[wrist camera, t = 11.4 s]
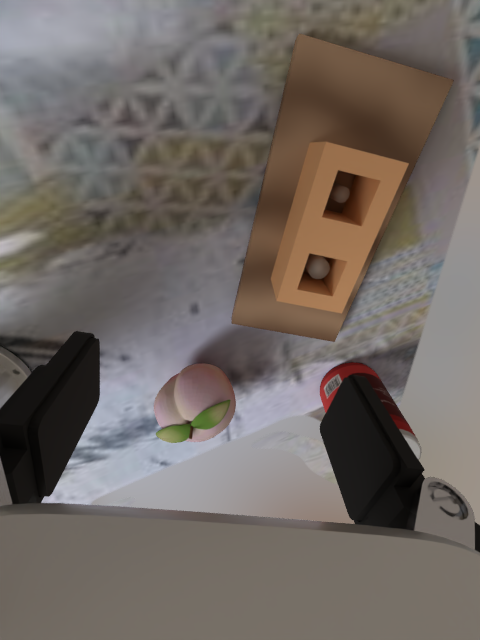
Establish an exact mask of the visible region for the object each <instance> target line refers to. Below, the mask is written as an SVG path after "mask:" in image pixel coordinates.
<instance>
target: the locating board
mask: <svg viewBox="0 0 480 640" xmlns="http://www.w3.org/2000/svg"><path fill="white" fill-rule="evenodd" d="M453 81H454V80H452V79H448V78H445V77H442V76H439V75H435V74H432V73H429V72H425V71H422V70H419V69H415V68H412V67H409V66H405V65H402V64H399V63H395V62H392V61H389V60H386V59H382V58H379V57H376V56H372V55H369V54H366V53H362V52H359V51H356V50H352V49H349V48H346V47H343V46H339V45H336V44H333V43H329V42H326V41H323V40H319V39H316V38H313V37H309V36H306V35H303V34H299V35H298V37H297V38H296V40H295V45H294V49H293V53H292V58H291V62H290V66H289V71H288V75H287V79H286V84H285V88H284V92H283V97H282V101H281V105H280V110H279V114H278V118H277V123H276V127H275V131H274V136H273V140H272V144H271V149H270V153H269V157H268V162H267V166H266V170H265V175H264V179H263V183H262V188H261V192H260V196H259V201H258V205H257V209H256V214H255V218H254V222H253V227H252V231H251V235H250V240H249V244H248V248H247V253H246V257H245V261H244V266H243V270H242V274H241V279H240V283H239V287H238V292H237V296H236V300H235V305H234V309H233V313H232V324H237V325H243V326H248V327H254V328H260V329H265V330H271V331H277V332H282V333H288V334H293V335H299V336H305V337H310V338H316V339H322V340H327V341H333V342H335V339H336V337H337V335H338V333H339V331H340V329H341V326H342V324H343V322H344V320H345V318H346V315H347V313H348V311H349V309H350V307H351V304H352V302H353V300H354V298H355V296H356V294H357V291H358V289H359V287H360V285H361V283H362V280H363V278H364V276H365V274H366V272H367V269H368V267H369V265H370V263H371V261H372V258H373V256H374V254H375V252H376V250H377V248H378V245H379V243H380V241H381V239H382V237H383V234H384V232H385V230H386V228H387V226H388V223H389V221H390V219H391V217H392V215H393V213H394V210H395V208H396V206H397V204H398V202H399V199H400V197H401V195H402V193H403V191H404V188H405V186H406V184H407V182H408V180H409V177H410V175H411V173H412V171H413V169H414V167H415V164H416V162H417V160H418V158H419V156H420V153H421V151H422V149H423V147H424V145H425V142H426V140H427V138H428V136H429V134H430V132H431V129H432V127H433V125H434V123H435V121H436V118H437V116H438V114H439V112H440V110H441V107H442V105H443V103H444V101H445V99H446V96H447V94H448V92H449V90H450V88H451V86H452V83H453ZM311 142H329V143H333V144H337V145H341V146H345V147H348V148H352V149H356V150H360V151H364V152H367V153H371V154H375V155H379V156H383V157H386V158H390V159H394V160H398V161H402V162H406V163H409V165H408V167H407V169H406V171H405V174H404V176H403V178H402V180H401V182H400V185H399V187H398V189H397V191H396V194H395V196H394V198H393V200H392V203H391V205H390V207H389V209H388V212H387V214H386V216H385V218H384V220H383V223H382V225H381V227H380V229H379V232H378V234H377V236H376V238H375V241H374V243H373V245H372V247H371V249H370V252H369V254H368V256H367V258H366V261H365V263H364V265H363V267H362V270H361V272H360V274H359V276H358V279H357V281H356V283H355V285H354V287H353V290H352V292H351V294H350V296H349V299H348V301H347V303H346V305H345V308H344V310H343V312H342V313H336V312H331V311H326V310H321V309H315V308H310V307H305V306H300V305H294V304H289V303H284V302H279V301H276V297H275V293H274V290H273V286H272V282H271V276H272V272H273V269H274V265H275V262H276V258H277V255H278V251H279V248H280V244H281V241H282V237H283V234H284V230H285V227H286V223H287V220H288V217H289V213H290V210H291V206H292V203H293V199H294V196H295V192H296V189H297V185H298V182H299V178H300V175H301V171H302V168H303V164H304V161H305V157H306V154H307V151H308V147H309V144H310V143H311ZM355 176H356V175H354V174H351V173H347V172H343V171H339V170H338V172H337V175H336V177H335V180H334V183H333V186H332V189H331V192H330V195H329V198H328V201H327V204H326V207H325V210H329V211H333V212H337V213H342V211H343V208H344V205H345V203H346V200H347V199H348V198H349V195H350V189H351V187H352V184H353V181H354V179H355ZM329 270H330V266H329V263H328V262H327V261H326V260H325V256H320V255H315V254H310V253H309V256H308V259H307V262H306V265H305V268H304V271H303V272H308V273H309V274H310V276H311V277H312V278H314V279H322V278H324V277H325V276H326V275H327V274H328V273H329Z"/></svg>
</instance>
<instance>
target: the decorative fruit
mask: <svg viewBox="0 0 480 640" xmlns="http://www.w3.org/2000/svg"><path fill="white" fill-rule="evenodd" d="M235 407H236V401H235V395H234V391H233V388H232V385H231V383H230V381H229V379H228V377H227V376H226V374H225V373H224V372H223V371H222V370H221V369H220V368H218V367H216V366H214V365H211V364H206V363H200V364H193V365H190V366H188V367H186V368H184V369H183V370H182V371H181V372H180V373H179V374H176V375H175V376H173V377H172V378H171V379H170V380H169V381H168V382H167V383H166V384H165V385H164V386H163V387H162V388H161V390H160V391H159V392H158V394H157V396H156V398H155V402H154V412H155V416H156V419H157V421H158V423H159V425H160V426H161V428H162V430H159V431H158V432H157V433H156V435H157V437H158V438H160V439H161V440H163V441H166V442H171V443H177V442H183V441H190V442H201V441H205V440H208V439H210V438H212V437H214V436H216V435H217V434H219V433H220V432H222V431H223V430H224V429H225V428H226V427H227V426H228V425H229V423H230V422H231V420H232V418H233V415H234V412H235Z"/></svg>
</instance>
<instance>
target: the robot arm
mask: <svg viewBox="0 0 480 640" xmlns="http://www.w3.org/2000/svg"><path fill="white" fill-rule="evenodd" d="M99 396H100V347H99V339H96V338H95V337H94V334H91V333H84V332H78V331H76V332H74V333H73V334H72V335H71V336H70V338H69V339H68V340H67V341H66V342H65V344H64V345H63V346H62V347H61V348H60V349H59V351H58V352H57V353H56V354H55V355H54V357H53V358H52V359H51V360H50V361H49V363H48V364H47V365H46V366H45V365H40V366H38V367H37V368H36V369H35V370H34V371H33V372H32V373H31V371H30V370H29V368H28V367H27V366H26V365H25V364H24V363H23V362H22V361H21V360H20V359H19V358H18V357H16V356H15V355H14V354H13V353H11V352H9V351H8V350H6V349H4V348H3V347H0V640H480V525H478V524H477V523H475V519H474V513H473V510H472V508H471V506H470V504H469V503H468V501H467V500H466V499H465V497H464V496H463V495H462V494H461V493H460V492H459V491H458V490H457V489H456V488H454V487H453V486H452V485H450V484H449V483H447V482H445V481H444V480H442V479H439V478H435V477H428V478H426V479H425V478H424V476H423V475H422V472H423V471H424V468H423V467H422V465H421V463H420V462H419V460H418V459H417V457H416V455H415V454H414V452H413V451H412V449H411V447H410V446H409V444H408V443H407V441H406V440H405V438H404V436H403V435H402V433H401V432H400V430H399V429H398V427H397V425H396V424H395V422H394V421H393V419H392V417H391V416H390V414H389V413H388V411H387V410H386V408H385V406H384V405H383V403H382V402H381V400H380V398H379V397H378V395H377V394H376V392H375V391H374V389H373V387H372V386H371V384H370V383H369V381H368V380H367V378H366V377H364V376H358V375H349V376H348V377H345V378H344V379H343V381H342V382H341V384H340V386H339V388H338V390H337V392H336V394H335V396H334V398H333V400H332V402H331V404H330V406H329V408H328V410H327V412H326V414H325V416H324V418H323V420H322V422H321V424H320V433H321V436H322V439H323V442H324V445H325V447H326V450H327V453H328V456H329V459H330V462H331V465H332V468H333V471H334V474H335V477H336V480H337V482H338V485H339V488H340V491H341V494H342V497H343V500H344V503H345V506H346V509H347V512H348V514H349V517H350V518H351V519H352V520H354V522H355V524H345V523H333V522H321V521H308V520H296V519H284V518H270V517H257V516H245V515H230V514H218V513H205V512H191V511H177V510H162V509H147V508H134V507H120V506H101V505H83V504H64V503H41V501H42V500H43V498H44V496H50V495H51V494H52V492H53V491H54V489H55V487H56V485H57V483H58V481H59V479H60V477H61V475H62V473H63V471H64V469H65V467H66V465H67V463H68V461H69V459H70V457H71V455H72V453H73V451H74V449H75V447H76V445H77V443H78V441H79V440H80V438H81V436H82V434H83V432H84V430H85V428H86V426H87V424H88V422H89V420H90V418H91V416H92V414H93V412H94V410H95V408H96V406H97V404H98V401H99Z"/></svg>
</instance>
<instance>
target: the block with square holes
mask: <svg viewBox="0 0 480 640" xmlns="http://www.w3.org/2000/svg"><path fill="white" fill-rule="evenodd" d="M408 165H409V163H406V162H402V161H398V160H394V159H390V158H386V157H383V156H379V155H375V154H371V153H367V152H364V151H360V150H356V149H352V148H348V147H345V146H341V145H337V144H333V143H329V142H311V143H310V144H309V147H308V151H307V154H306V157H305V161H304V164H303V168H302V171H301V175H300V178H299V182H298V185H297V189H296V192H295V196H294V199H293V203H292V206H291V210H290V213H289V217H288V220H287V223H286V227H285V230H284V234H283V237H282V241H281V244H280V248H279V251H278V255H277V258H276V262H275V265H274V269H273V272H272V276H271V282H272V286H273V290H274V293H275V297H276V301H279V302H284V303H289V304H294V305H300V306H305V307H310V308H315V309H321V310H326V311H331V312H336V313H342V312H343V310H344V308H345V305H346V303H347V301H348V299H349V296H350V294H351V292H352V290H353V287H354V285H355V283H356V281H357V279H358V276H359V274H360V272H361V270H362V267H363V265H364V263H365V261H366V258H367V256H368V254H369V252H370V249H371V247H372V245H373V243H374V241H375V238H376V236H377V234H378V232H379V229H380V227H381V225H382V223H383V220H384V218H385V216H386V214H387V212H388V209H389V207H390V205H391V203H392V200H393V198H394V196H395V194H396V191H397V189H398V187H399V185H400V182H401V180H402V178H403V176H404V174H405V171H406V169H407V167H408ZM338 170H339V171H343V172H347V173H351V174H354V175H356V176H355V179H354V181H353V184H352V187H351V189H350V195H349V198H348V199H347V200H346V203H345V205H344V208H343V211H342V213H337V212H333V211H329V210H325V207H326V204H327V201H328V198H329V195H330V192H331V189H332V186H333V183H334V180H335V177H336V175H337V172H338ZM309 253H310V254H315V255H320V256H325V260H326V261H327V262H328V263H329V266H330V270H329V273H328V274H327V275H326V276H325V277H324V278H322V279H314V278H312V277H311V276H310V274H309V273H308V272H303V271H304V268H305V265H306V262H307V259H308V256H309Z"/></svg>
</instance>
